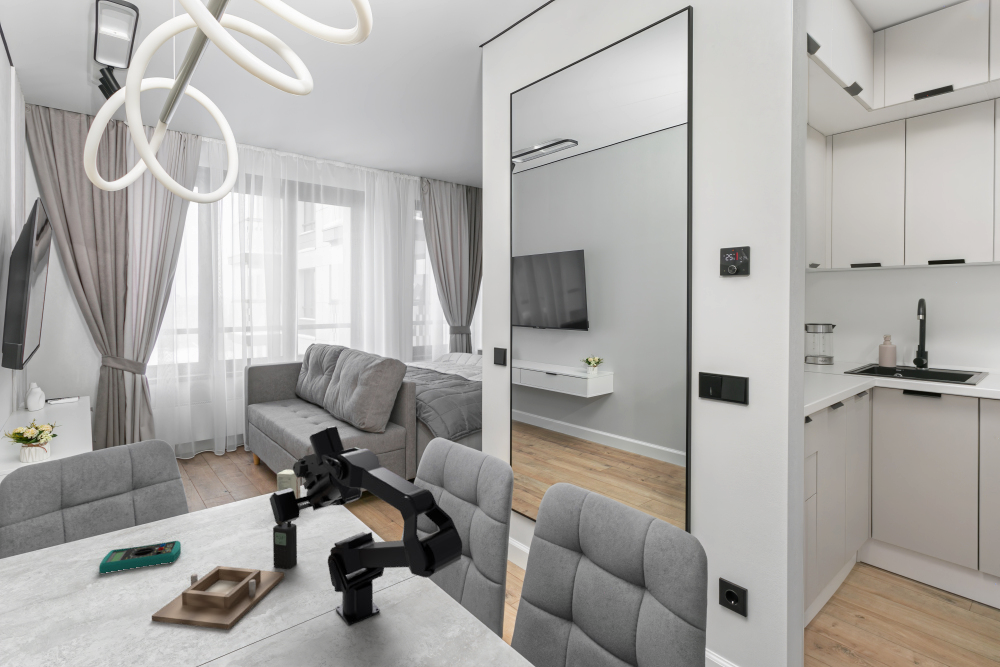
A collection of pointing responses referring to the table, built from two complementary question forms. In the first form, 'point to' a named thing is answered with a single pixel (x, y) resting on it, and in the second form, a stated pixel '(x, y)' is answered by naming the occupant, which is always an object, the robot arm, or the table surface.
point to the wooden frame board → (219, 597)
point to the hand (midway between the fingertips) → (302, 509)
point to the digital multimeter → (140, 556)
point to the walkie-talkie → (285, 545)
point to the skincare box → (288, 482)
